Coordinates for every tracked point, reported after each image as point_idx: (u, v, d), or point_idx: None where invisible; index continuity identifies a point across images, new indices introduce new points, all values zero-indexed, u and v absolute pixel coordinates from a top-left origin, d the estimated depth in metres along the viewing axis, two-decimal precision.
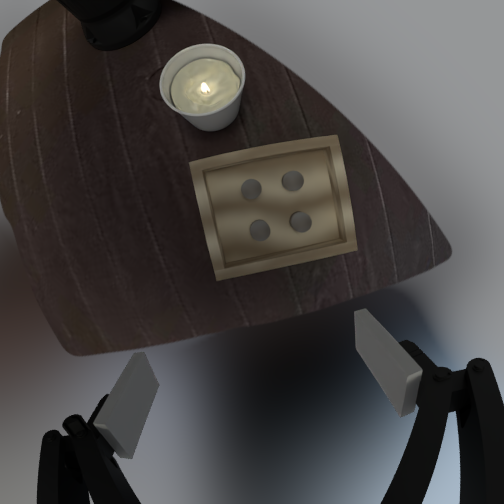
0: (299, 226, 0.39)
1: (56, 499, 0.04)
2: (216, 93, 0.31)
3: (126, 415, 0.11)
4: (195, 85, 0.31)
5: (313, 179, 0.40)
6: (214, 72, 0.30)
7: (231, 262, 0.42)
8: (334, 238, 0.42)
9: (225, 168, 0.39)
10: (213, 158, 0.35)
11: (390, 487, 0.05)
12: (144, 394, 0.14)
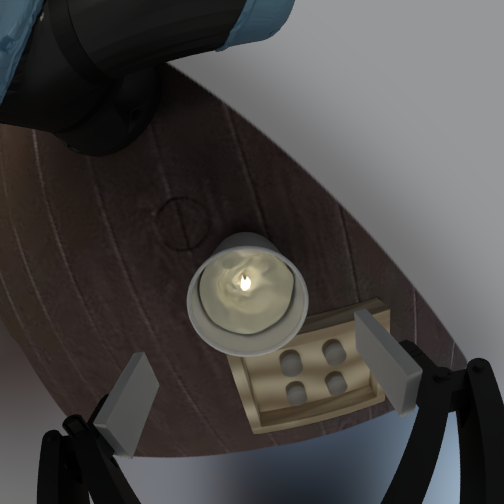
0: (335, 391, 0.35)
1: (56, 499, 0.04)
2: (259, 287, 0.27)
3: (126, 415, 0.11)
4: (230, 273, 0.27)
5: (354, 342, 0.36)
6: (256, 256, 0.26)
7: (266, 413, 0.38)
8: (364, 385, 0.38)
9: None
10: None
11: (390, 487, 0.05)
12: (144, 394, 0.13)
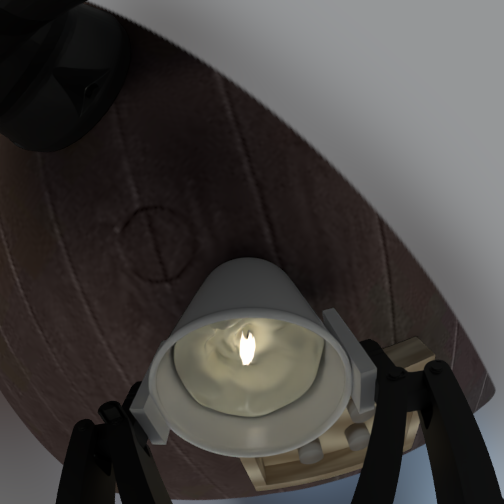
0: (357, 447, 0.24)
1: (79, 492, 0.05)
2: (269, 350, 0.17)
3: None
4: (223, 330, 0.16)
5: None
6: None
7: (272, 468, 0.27)
8: None
9: None
10: None
11: (358, 486, 0.05)
12: None
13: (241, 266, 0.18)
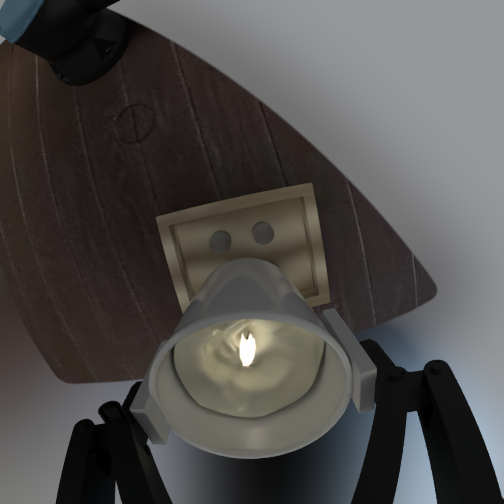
0: None
1: (79, 491, 0.05)
2: (269, 351, 0.17)
3: None
4: (223, 331, 0.16)
5: (286, 228, 0.39)
6: None
7: None
8: (308, 287, 0.41)
9: (194, 219, 0.39)
10: (179, 213, 0.35)
11: (358, 487, 0.05)
12: None
13: (241, 267, 0.18)
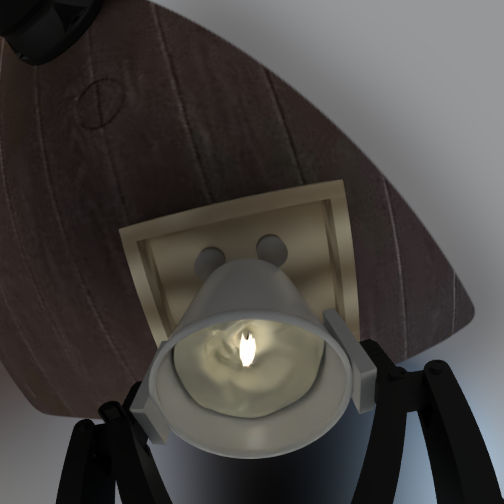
0: None
1: (79, 492, 0.05)
2: (269, 351, 0.17)
3: None
4: (223, 331, 0.16)
5: (303, 243, 0.28)
6: None
7: None
8: None
9: None
10: (150, 223, 0.24)
11: (357, 487, 0.05)
12: None
13: (241, 267, 0.18)
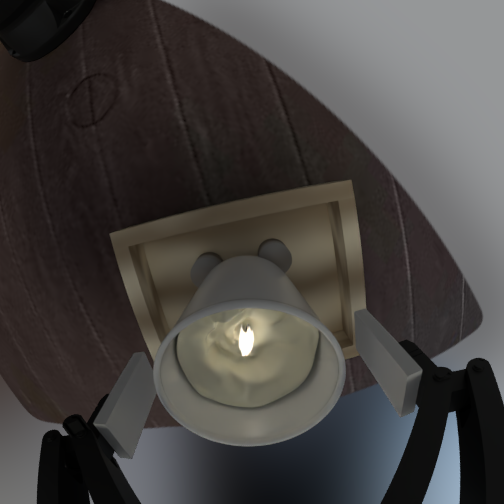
0: None
1: (56, 499, 0.04)
2: (267, 343, 0.18)
3: (126, 415, 0.11)
4: (223, 323, 0.17)
5: (308, 248, 0.26)
6: None
7: None
8: (335, 330, 0.28)
9: None
10: (143, 227, 0.22)
11: (390, 487, 0.05)
12: (144, 394, 0.14)
13: (240, 263, 0.19)
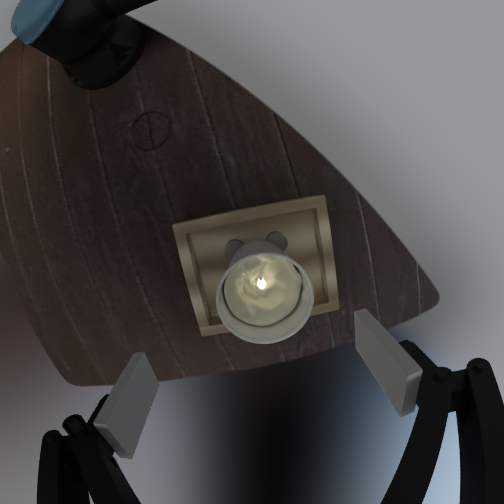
0: None
1: (56, 499, 0.04)
2: (273, 287, 0.32)
3: (126, 415, 0.11)
4: (248, 274, 0.32)
5: (298, 238, 0.41)
6: (271, 261, 0.31)
7: (216, 317, 0.42)
8: (318, 294, 0.43)
9: None
10: (196, 221, 0.36)
11: (390, 487, 0.05)
12: (144, 394, 0.14)
13: (257, 243, 0.34)
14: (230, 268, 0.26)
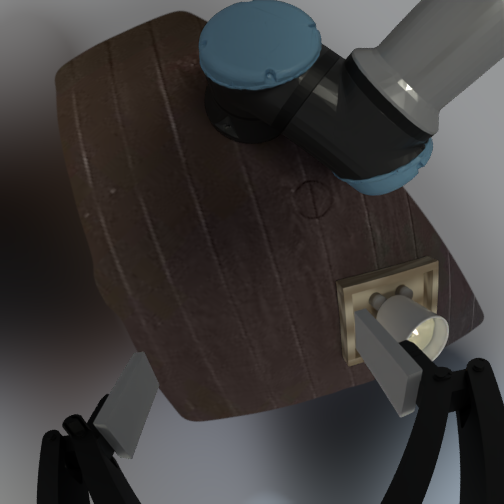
0: None
1: (56, 499, 0.04)
2: (416, 330, 0.40)
3: (126, 415, 0.11)
4: None
5: (414, 288, 0.49)
6: None
7: (354, 349, 0.51)
8: None
9: None
10: (361, 285, 0.44)
11: (390, 487, 0.05)
12: (144, 394, 0.14)
13: (405, 300, 0.42)
14: (415, 328, 0.34)
